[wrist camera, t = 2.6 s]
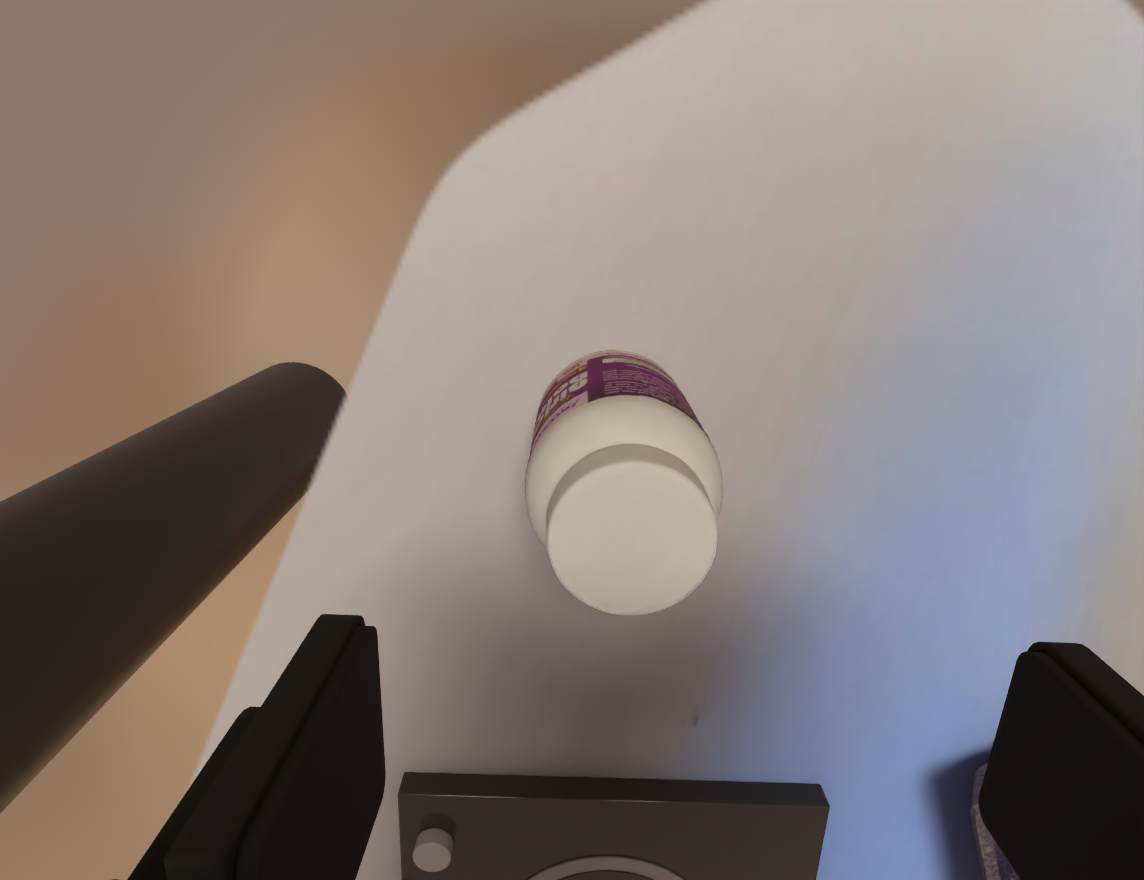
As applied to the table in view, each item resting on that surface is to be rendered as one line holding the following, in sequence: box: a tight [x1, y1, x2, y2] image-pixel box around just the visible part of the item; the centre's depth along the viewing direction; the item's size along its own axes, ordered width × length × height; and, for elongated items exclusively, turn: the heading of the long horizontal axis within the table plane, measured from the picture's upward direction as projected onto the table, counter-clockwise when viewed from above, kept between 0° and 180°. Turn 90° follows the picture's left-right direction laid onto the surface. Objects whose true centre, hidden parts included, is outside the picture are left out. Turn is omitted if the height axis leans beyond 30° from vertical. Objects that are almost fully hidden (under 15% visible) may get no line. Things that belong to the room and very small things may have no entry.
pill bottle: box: [525, 350, 723, 616], centre depth 20 cm, size 5×5×10 cm
